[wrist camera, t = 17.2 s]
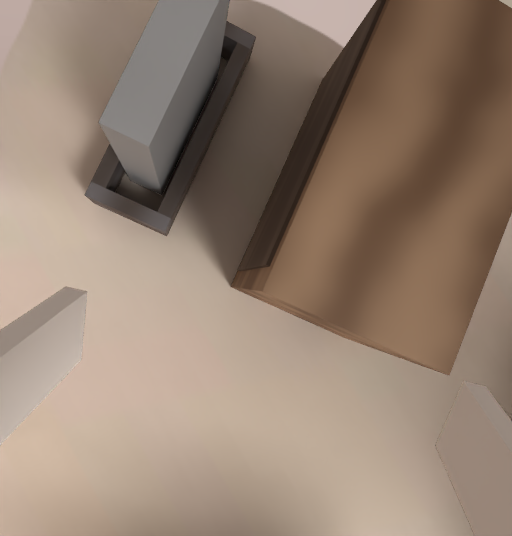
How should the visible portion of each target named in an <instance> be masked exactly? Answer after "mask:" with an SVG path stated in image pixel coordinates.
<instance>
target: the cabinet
mask: <svg viewBox="0 0 512 536" xmlns="http://www.w3.org/2000/svg"><path fill="white" fill-rule="evenodd" d="M255 38H256V37H255V36H253V35H252V34H250V33H248V32H246V31H244V30H242V29H240V28H239V27H237V26H235V25H233V24H231V23H229V22H228V21H226V27H225V33H224V39H223V46H222V52H221V57H222V58H224V59H226V60H228V63H227V65H226V67H225V70H224V72H223V74H222V76H221V78H220V80H219V82H218V84H217V87H216V89H215V91H214V93H213V95H212V97H211V99H210V101H209V103H208V106H207V108H206V110H205V112H204V114H203V116H202V118H201V120H200V123H199V125H198V127H197V129H196V131H195V133H194V135H193V137H192V139H191V142H190V144H189V146H188V148H187V150H186V152H185V154H184V156H183V159H182V161H181V163H180V165H179V167H178V169H177V171H176V173H175V175H174V178H173V180H172V182H171V184H170V186H169V188H168V190H167V192H166V194H165V197H164V199H163V201H162V203H161V205H160V207H159V209H158V211H157V212H156V211H154V210H152V209H150V208H147V207H145V206H143V205H141V204H139V203H137V202H134V201H132V200H130V199H128V198H126V197H124V196H121V195H119V194H117V193H115V192H116V190H117V188H118V186H119V184H120V182H121V180H122V177H123V175H124V173H125V170H124V168H123V166H122V164H121V163H120V161H119V159H118V157H117V155H116V153H115V152H114V150H113V148H112V146H111V144H109V146H108V148H107V150H106V153H105V155H104V157H103V159H102V161H101V163H100V165H99V167H98V169H97V171H96V173H95V175H94V177H93V179H92V181H91V183H90V185H89V187H88V189H87V191H86V193H85V196H86V197H87V198H89V199H90V200H91V201H92V202H93V203H95V204H97V205H99V206H101V207H104V208H106V209H108V210H110V211H112V212H115V213H117V214H119V215H121V216H123V217H126V218H128V219H130V220H132V221H134V222H137V223H139V224H141V225H143V226H145V227H148V228H150V229H152V230H154V231H156V232H159V233H161V234H163V235H165V236H167V234H168V232H169V230H170V228H171V226H172V224H173V222H174V219H175V217H176V215H177V213H178V211H179V209H180V207H181V204H182V202H183V200H184V198H185V196H186V194H187V192H188V189H189V187H190V185H191V183H192V181H193V179H194V177H195V174H196V172H197V170H198V168H199V166H200V164H201V162H202V159H203V157H204V155H205V153H206V151H207V149H208V147H209V144H210V142H211V140H212V138H213V136H214V134H215V132H216V129H217V127H218V125H219V123H220V121H221V119H222V117H223V114H224V112H225V110H226V108H227V106H228V104H229V102H230V100H231V97H232V95H233V93H234V91H235V89H236V87H237V85H238V82H239V80H240V78H241V76H242V74H243V72H244V70H245V67H246V65H247V63H248V61H249V59H250V56H251V52H252V49H253V45H254V42H255ZM511 213H512V8H510V7H508V6H507V5H505V4H504V3H502V2H500V1H499V0H377V1H376V2H375V4H374V5H373V7H372V8H371V9H370V11H369V12H368V14H367V15H366V17H365V18H364V20H363V21H362V23H361V24H360V26H359V27H358V28H357V30H356V31H355V33H354V34H353V36H352V37H351V39H350V40H349V42H348V43H347V45H346V46H345V47H344V49H343V50H342V52H341V53H340V55H339V56H338V58H337V59H336V61H335V62H334V64H333V65H332V67H331V68H330V69H329V71H328V72H327V74H326V75H325V77H324V78H323V80H322V82H321V84H320V86H319V89H318V91H317V93H316V95H315V98H314V100H313V102H312V104H311V107H310V109H309V111H308V113H307V115H306V118H305V120H304V122H303V124H302V127H301V129H300V131H299V133H298V136H297V138H296V140H295V142H294V145H293V147H292V149H291V151H290V154H289V156H288V158H287V160H286V163H285V165H284V167H283V169H282V172H281V174H280V176H279V178H278V181H277V183H276V185H275V187H274V189H273V192H272V194H271V196H270V198H269V201H268V203H267V205H266V207H265V210H264V212H263V214H262V216H261V219H260V221H259V223H258V225H257V228H256V230H255V232H254V234H253V237H252V239H251V241H250V243H249V246H248V248H247V250H246V252H245V255H244V257H243V259H242V261H241V264H240V266H239V268H238V271H237V274H236V276H235V278H234V280H233V283H232V285H231V287H232V288H234V289H237V290H239V291H241V292H243V293H246V294H248V295H250V296H252V297H255V298H257V299H259V300H261V301H264V302H266V303H268V304H270V305H273V306H275V307H277V308H279V309H282V310H284V311H286V312H288V313H290V314H293V315H295V316H297V317H299V318H302V319H304V320H306V321H308V322H311V323H313V324H315V325H317V326H320V327H322V328H324V329H326V330H329V331H331V332H333V333H335V334H338V335H340V336H342V337H344V338H347V339H350V340H352V341H355V342H358V343H361V344H363V345H366V346H369V347H372V348H374V349H377V350H380V351H383V352H386V353H388V354H391V355H394V356H397V357H399V358H402V359H405V360H408V361H410V362H413V363H416V364H419V365H421V366H424V367H427V368H430V369H433V370H435V371H438V372H441V373H444V374H446V375H449V374H450V372H451V369H452V367H453V364H454V361H455V359H456V356H457V354H458V351H459V348H460V346H461V343H462V341H463V338H464V335H465V333H466V330H467V328H468V325H469V322H470V320H471V317H472V315H473V312H474V309H475V307H476V304H477V301H478V299H479V296H480V294H481V291H482V288H483V286H484V283H485V281H486V278H487V275H488V273H489V270H490V268H491V265H492V262H493V260H494V257H495V255H496V252H497V249H498V247H499V244H500V242H501V239H502V236H503V234H504V231H505V229H506V226H507V223H508V221H509V218H510V216H511Z"/></svg>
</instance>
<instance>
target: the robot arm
mask: <svg viewBox="0 0 512 536" xmlns="http://www.w3.org/2000/svg"><path fill="white" fill-rule="evenodd" d="M86 301H87V291H83V290H79V289H74V288H70V287H64V288H63V289H61V290H60V291H58V292H57V293H55V294H54V295H52V296H51V297H49V298H48V299H46V300H45V301H43V302H42V303H40V304H39V305H37V306H36V307H34V308H33V309H31V310H30V311H28V312H27V313H25V314H24V315H22V316H21V317H19V318H18V319H16V320H15V321H13V322H12V323H10V324H9V325H7V326H6V327H4V328H3V329H1V330H0V445H1V444H2V443H3V442H4V441H5V440H6V439H7V438H8V437H9V436H10V435H11V434H12V432H13V431H14V430H15V429H16V428H17V427H18V426H19V425H20V424H21V423H22V422H23V421H24V420H25V419H26V418H27V417H28V416H29V415H30V414H31V412H32V411H33V410H34V409H35V408H36V407H37V406H38V405H39V404H40V403H41V402H42V401H43V400H44V399H45V398H46V397H47V396H48V395H49V394H50V392H51V391H52V390H53V389H54V388H55V387H56V386H57V385H58V384H59V383H60V382H61V381H62V380H63V379H64V378H65V377H66V376H67V375H68V374H69V372H70V371H71V370H72V369H73V368H74V367H75V366H76V365H77V364H78V363H79V362H80V361H81V359H82V347H83V336H84V324H85V313H86ZM435 446H436V449H437V451H438V453H439V455H440V458H441V460H442V462H443V465H444V467H445V469H446V471H447V474H448V476H449V478H450V481H451V483H452V485H453V487H454V490H455V492H456V494H457V497H458V499H459V501H460V503H461V506H462V508H463V510H464V513H465V515H466V517H467V519H468V522H469V524H470V526H471V529H472V531H473V533H474V535H475V536H512V421H511V419H510V418H509V417H508V415H507V414H506V413H505V411H504V410H503V409H502V407H501V406H500V405H499V403H498V402H497V400H496V399H495V398H494V396H493V395H492V394H491V392H490V391H489V390H488V388H487V387H486V386H483V385H479V384H475V383H471V382H467V381H463V383H462V385H461V387H460V390H459V392H458V394H457V397H456V399H455V401H454V403H453V406H452V408H451V410H450V413H449V415H448V417H447V419H446V422H445V424H444V426H443V429H442V431H441V433H440V435H439V438H438V440H437V442H436V445H435Z"/></svg>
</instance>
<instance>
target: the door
mask: <svg viewBox="0 0 512 536" xmlns="http://www.w3.org/2000/svg"><path fill="white" fill-rule="evenodd" d="M229 1H230V0H159V1H158V3H157V5H156V7H155V9H154V11H153V13H152V15H151V17H150V19H149V21H148V23H147V25H146V28H145V30H144V32H143V34H142V36H141V38H140V40H139V42H138V44H137V46H136V48H135V50H134V52H133V54H132V56H131V58H130V60H129V62H128V64H127V66H126V68H125V70H124V72H123V74H122V76H121V78H120V80H119V82H118V84H117V86H116V88H115V90H114V92H113V94H112V96H111V98H110V100H109V102H108V104H107V106H106V108H105V110H104V112H103V114H102V116H101V118H100V120H99V122H98V123H99V124H100V126H101V128H102V130H103V132H104V134H105V135H106V137H107V139H108V141H109V143H110V144H111V146H112V148H113V150H114V152H115V153H116V155H117V157H118V159H119V161H120V163H121V164H122V166H123V168H124V170H125V172H126V173H127V175H128V177H129V179H130V181H132V182H134V183H136V184H138V185H140V186H143V187H145V188H147V189H149V190H151V191H153V192H155V193H158V194H160V195H163V193H164V191H165V189H166V187H167V185H168V182H169V180H170V178H171V176H172V174H173V172H174V170H175V168H176V165H177V163H178V161H179V159H180V157H181V155H182V153H183V151H184V149H185V146H186V144H187V142H188V140H189V138H190V136H191V134H192V132H193V129H194V127H195V125H196V123H197V121H198V119H199V117H200V115H201V112H202V110H203V108H204V106H205V104H206V102H207V100H208V98H209V96H210V93H211V91H212V89H213V87H214V85H215V83H216V81H217V77H218V71H219V65H220V58H221V52H222V46H223V39H224V33H225V27H226V20H227V14H228V8H229Z"/></svg>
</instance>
